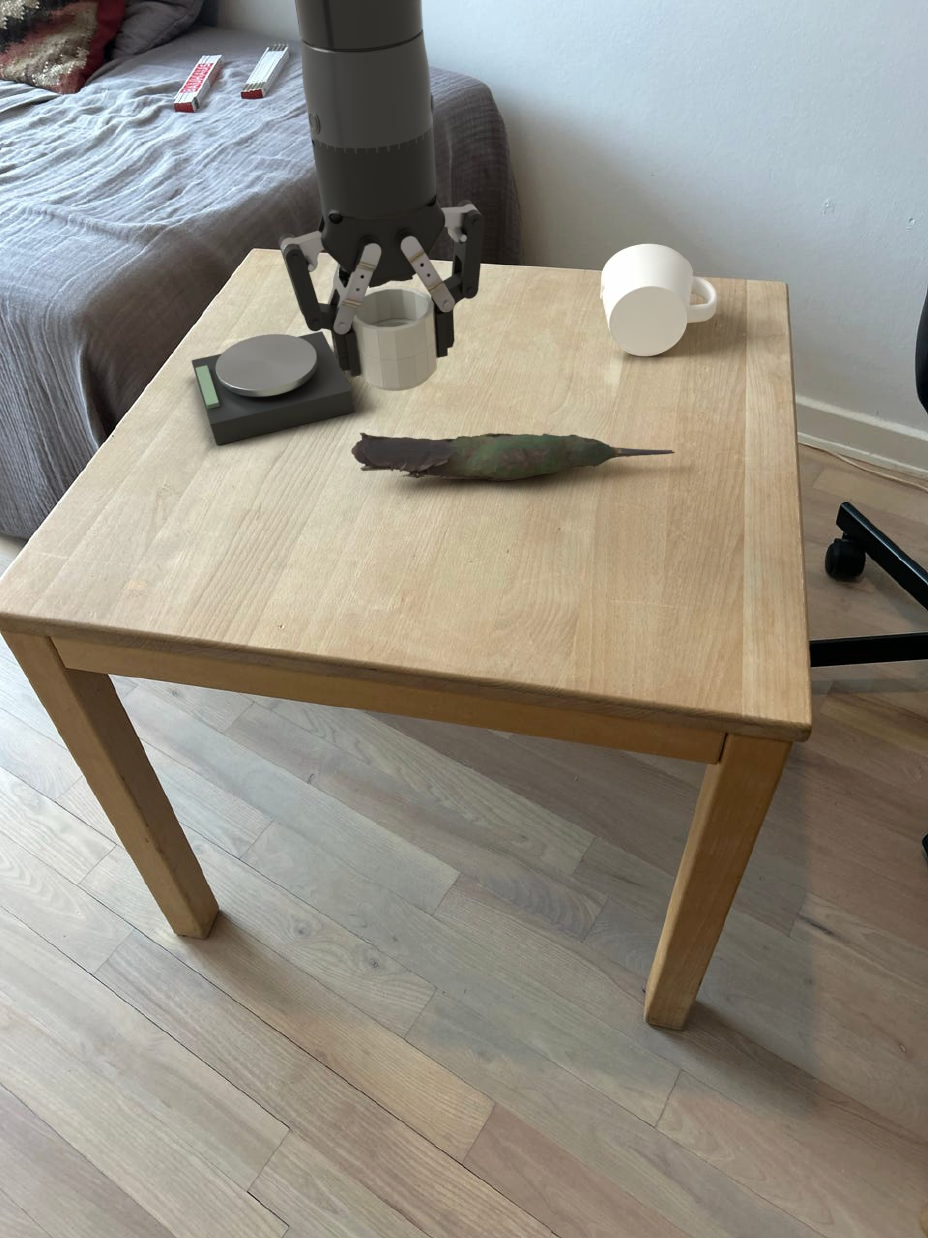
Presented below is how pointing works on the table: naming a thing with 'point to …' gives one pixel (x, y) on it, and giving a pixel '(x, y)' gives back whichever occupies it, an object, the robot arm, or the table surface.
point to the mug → (652, 298)
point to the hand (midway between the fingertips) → (396, 360)
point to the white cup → (396, 338)
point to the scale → (274, 398)
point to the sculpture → (487, 455)
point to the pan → (266, 365)
